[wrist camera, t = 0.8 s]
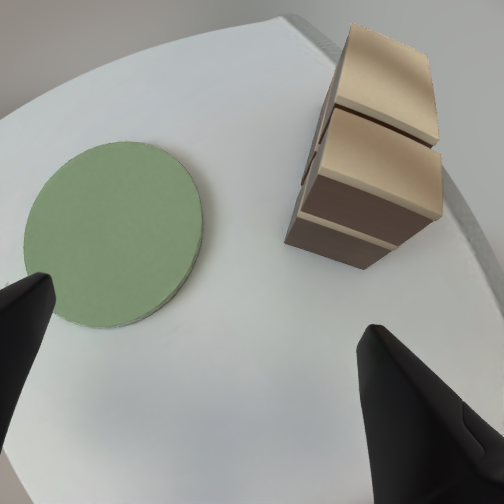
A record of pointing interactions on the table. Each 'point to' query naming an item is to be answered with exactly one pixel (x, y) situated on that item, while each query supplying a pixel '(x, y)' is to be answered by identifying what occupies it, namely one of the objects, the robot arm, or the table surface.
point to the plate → (115, 233)
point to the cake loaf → (381, 89)
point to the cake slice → (365, 192)
